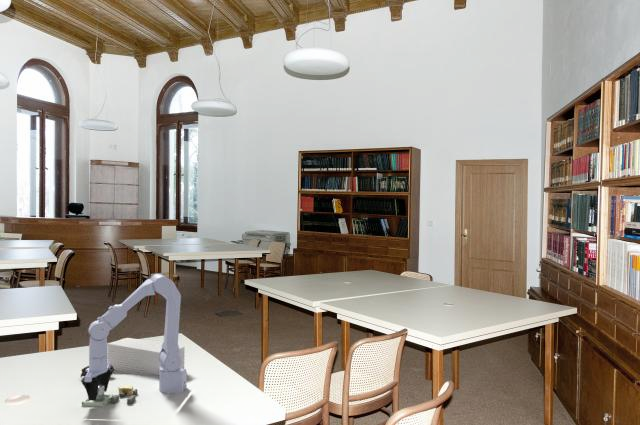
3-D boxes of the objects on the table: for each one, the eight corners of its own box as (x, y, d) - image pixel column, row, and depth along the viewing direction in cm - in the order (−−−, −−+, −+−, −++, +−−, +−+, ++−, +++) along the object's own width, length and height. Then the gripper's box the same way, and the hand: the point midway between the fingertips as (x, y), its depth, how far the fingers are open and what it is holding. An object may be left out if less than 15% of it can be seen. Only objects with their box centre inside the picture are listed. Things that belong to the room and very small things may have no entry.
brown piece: (82, 390, 181) (77, 368, 184) (86, 392, 189) (81, 372, 192) (116, 377, 186) (110, 357, 189) (118, 380, 194) (112, 361, 197)
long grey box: (184, 372, 201) (184, 346, 201) (166, 380, 192) (166, 353, 191) (126, 361, 214) (126, 337, 214) (107, 368, 204) (107, 343, 204)
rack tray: (113, 399, 169) (113, 394, 169) (104, 407, 162) (104, 402, 162) (92, 398, 169) (92, 394, 169) (81, 406, 162) (81, 402, 162)
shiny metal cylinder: (106, 398, 167) (106, 384, 167) (101, 402, 164) (101, 388, 164) (95, 398, 168) (95, 384, 167) (90, 402, 164) (90, 388, 164)
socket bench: (150, 392, 178) (150, 384, 178) (131, 411, 161) (131, 402, 161) (102, 391, 179) (102, 383, 179) (78, 410, 162) (78, 401, 162)
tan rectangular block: (133, 393, 173) (133, 386, 173) (131, 395, 172) (131, 388, 172) (120, 393, 174) (120, 386, 174) (118, 395, 172) (118, 388, 172)
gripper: (97, 349, 173) (96, 387, 173) (75, 362, 158) (75, 403, 159) (116, 350, 173) (116, 387, 173) (96, 363, 158) (96, 404, 158)
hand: (97, 395), depth 166 cm, fingers open, 7 cm apart
